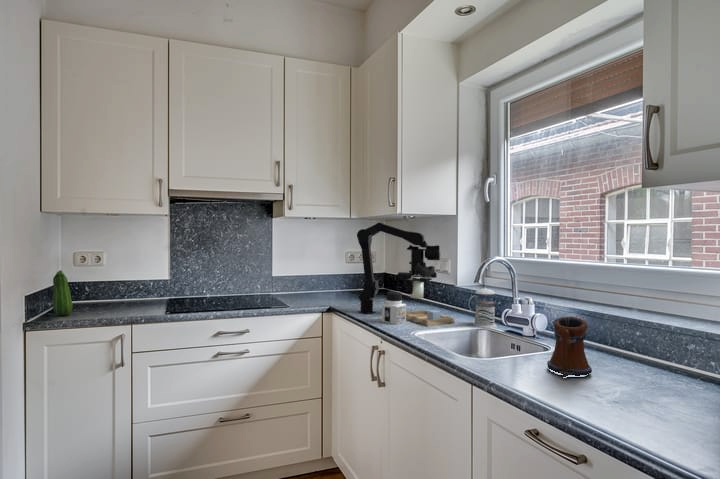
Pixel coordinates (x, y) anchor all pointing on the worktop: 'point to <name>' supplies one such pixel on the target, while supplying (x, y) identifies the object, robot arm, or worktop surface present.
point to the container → (394, 309)
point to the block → (433, 315)
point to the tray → (422, 318)
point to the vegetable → (61, 295)
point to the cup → (417, 289)
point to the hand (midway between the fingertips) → (416, 293)
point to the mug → (569, 347)
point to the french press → (485, 306)
